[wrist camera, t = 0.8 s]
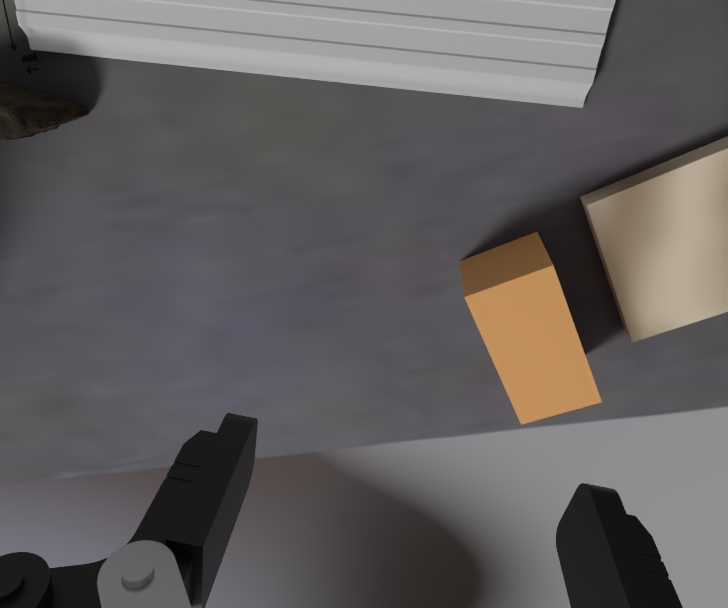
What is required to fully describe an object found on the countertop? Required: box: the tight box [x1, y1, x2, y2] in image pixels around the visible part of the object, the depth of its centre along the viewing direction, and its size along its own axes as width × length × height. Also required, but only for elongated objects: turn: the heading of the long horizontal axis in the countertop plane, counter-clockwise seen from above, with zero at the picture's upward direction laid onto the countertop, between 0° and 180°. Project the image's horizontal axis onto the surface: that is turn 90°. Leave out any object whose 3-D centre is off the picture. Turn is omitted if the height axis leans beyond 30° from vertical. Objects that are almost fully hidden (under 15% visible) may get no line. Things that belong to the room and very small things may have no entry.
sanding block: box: [460, 232, 602, 424], centre depth 34 cm, size 5×10×5 cm, turn 26°
